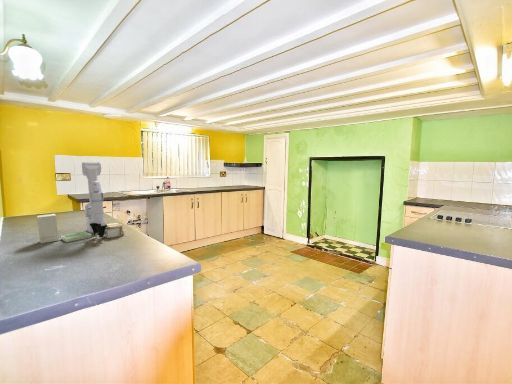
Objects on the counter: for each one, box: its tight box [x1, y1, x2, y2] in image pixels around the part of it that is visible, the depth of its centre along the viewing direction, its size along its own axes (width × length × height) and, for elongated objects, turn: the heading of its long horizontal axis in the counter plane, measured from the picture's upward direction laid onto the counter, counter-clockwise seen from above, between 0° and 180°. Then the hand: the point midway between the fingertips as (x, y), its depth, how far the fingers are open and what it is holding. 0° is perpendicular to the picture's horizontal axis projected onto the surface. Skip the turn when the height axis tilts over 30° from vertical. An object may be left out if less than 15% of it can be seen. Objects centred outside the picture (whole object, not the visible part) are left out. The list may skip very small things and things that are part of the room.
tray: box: [60, 230, 93, 243], centre depth 150 cm, size 10×12×2 cm
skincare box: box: [36, 213, 60, 244], centre depth 144 cm, size 8×6×15 cm
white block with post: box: [94, 227, 120, 239], centre depth 154 cm, size 6×14×5 cm, turn 142°
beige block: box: [105, 222, 125, 237], centre depth 156 cm, size 9×8×7 cm
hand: (99, 235), depth 150 cm, fingers open, 6 cm apart
